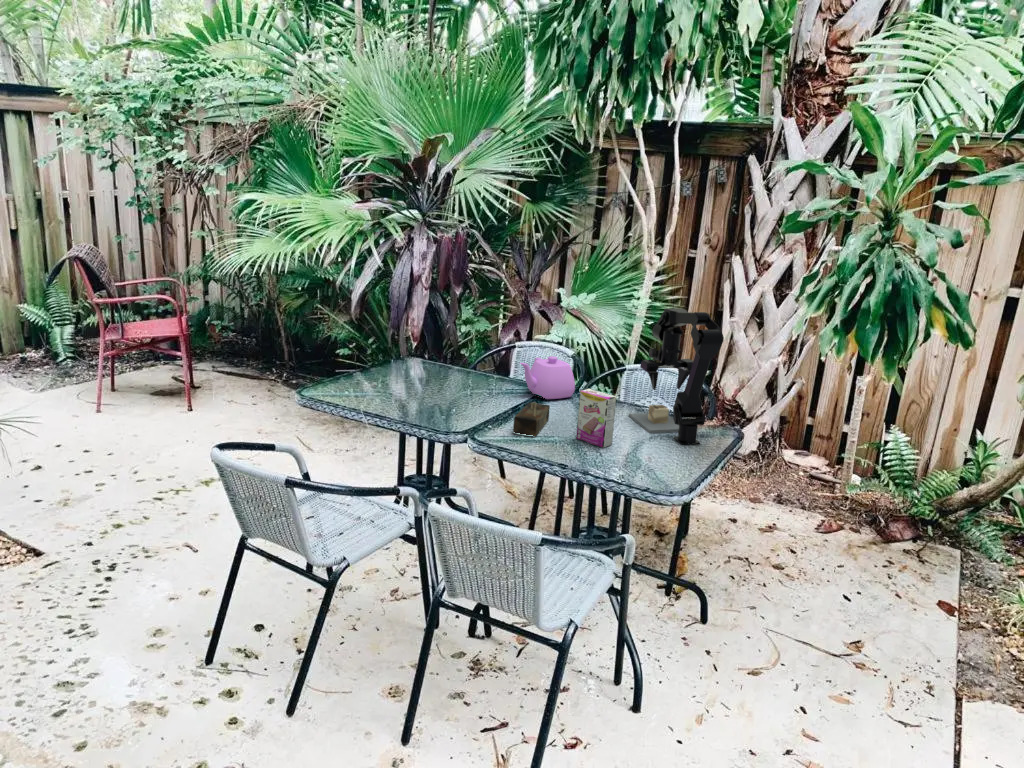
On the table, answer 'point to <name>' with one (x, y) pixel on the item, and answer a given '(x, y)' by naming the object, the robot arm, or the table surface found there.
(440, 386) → the table surface
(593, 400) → the candy bar box
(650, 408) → the lettered cube
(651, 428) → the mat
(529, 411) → the beverage carton
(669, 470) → the table surface
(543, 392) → the teapot
